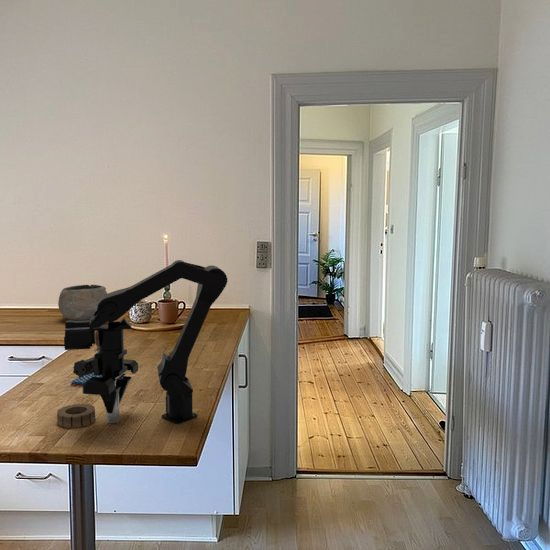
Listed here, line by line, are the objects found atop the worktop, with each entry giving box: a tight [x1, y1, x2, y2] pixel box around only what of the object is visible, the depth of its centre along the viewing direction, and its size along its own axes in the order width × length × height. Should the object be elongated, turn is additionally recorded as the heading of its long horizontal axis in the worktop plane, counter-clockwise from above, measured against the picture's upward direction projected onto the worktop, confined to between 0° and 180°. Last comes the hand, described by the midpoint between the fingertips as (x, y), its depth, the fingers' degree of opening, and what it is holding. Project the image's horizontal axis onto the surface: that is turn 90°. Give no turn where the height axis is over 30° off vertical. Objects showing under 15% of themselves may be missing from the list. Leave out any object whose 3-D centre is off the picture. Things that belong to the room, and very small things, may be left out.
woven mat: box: [70, 373, 102, 388], centre depth 163 cm, size 10×11×2 cm
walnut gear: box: [56, 403, 96, 429], centre depth 135 cm, size 9×9×3 cm
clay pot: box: [57, 284, 108, 321], centre depth 243 cm, size 21×21×15 cm
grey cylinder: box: [105, 393, 121, 424], centre depth 133 cm, size 3×3×8 cm
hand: (112, 410), depth 133 cm, fingers closed on grey cylinder, 3 cm apart
